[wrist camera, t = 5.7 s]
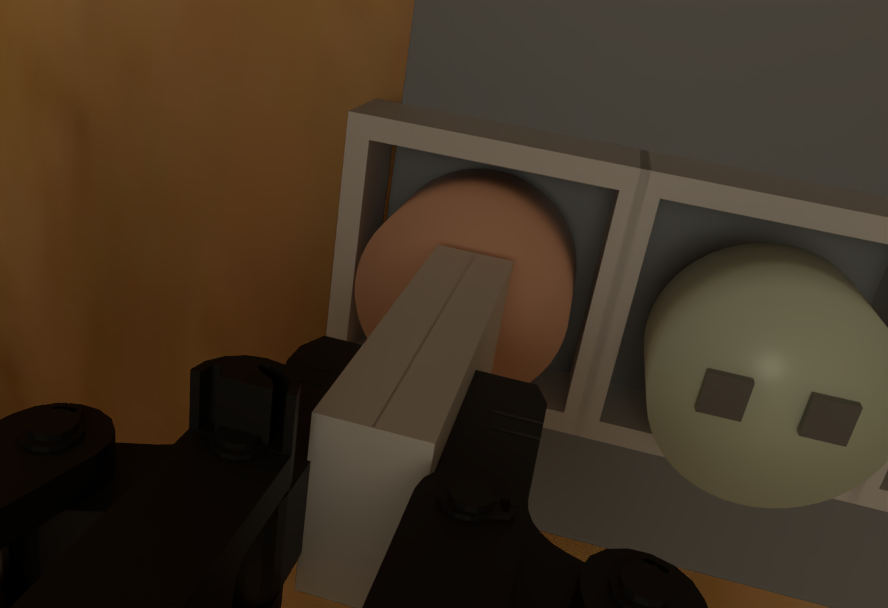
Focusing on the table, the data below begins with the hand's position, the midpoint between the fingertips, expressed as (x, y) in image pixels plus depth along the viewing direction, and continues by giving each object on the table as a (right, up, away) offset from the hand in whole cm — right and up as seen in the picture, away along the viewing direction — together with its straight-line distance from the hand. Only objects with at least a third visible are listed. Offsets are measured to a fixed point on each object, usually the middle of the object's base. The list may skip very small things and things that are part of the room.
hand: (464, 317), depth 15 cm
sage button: (+6, -1, +1) cm, 6 cm away
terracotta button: (0, +1, +3) cm, 3 cm away
